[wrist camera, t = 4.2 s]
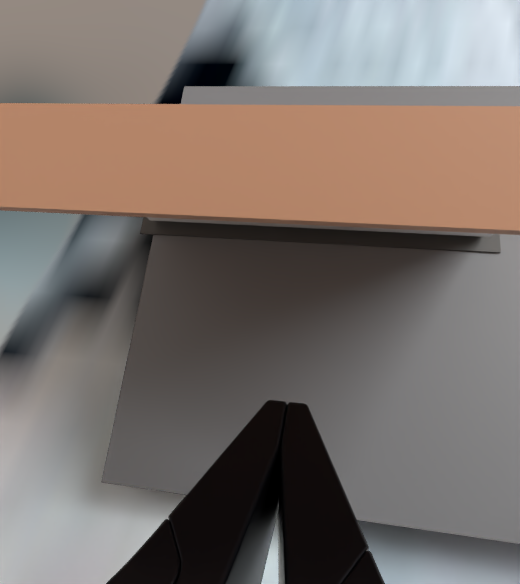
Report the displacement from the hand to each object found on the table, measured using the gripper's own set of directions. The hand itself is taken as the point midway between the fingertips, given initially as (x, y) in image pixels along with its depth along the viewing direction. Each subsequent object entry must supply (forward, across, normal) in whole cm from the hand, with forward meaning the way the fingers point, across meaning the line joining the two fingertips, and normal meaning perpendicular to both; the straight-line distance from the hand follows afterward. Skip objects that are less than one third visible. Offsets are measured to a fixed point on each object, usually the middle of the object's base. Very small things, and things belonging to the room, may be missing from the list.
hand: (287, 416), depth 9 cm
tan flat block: (+8, 0, -2) cm, 9 cm away
